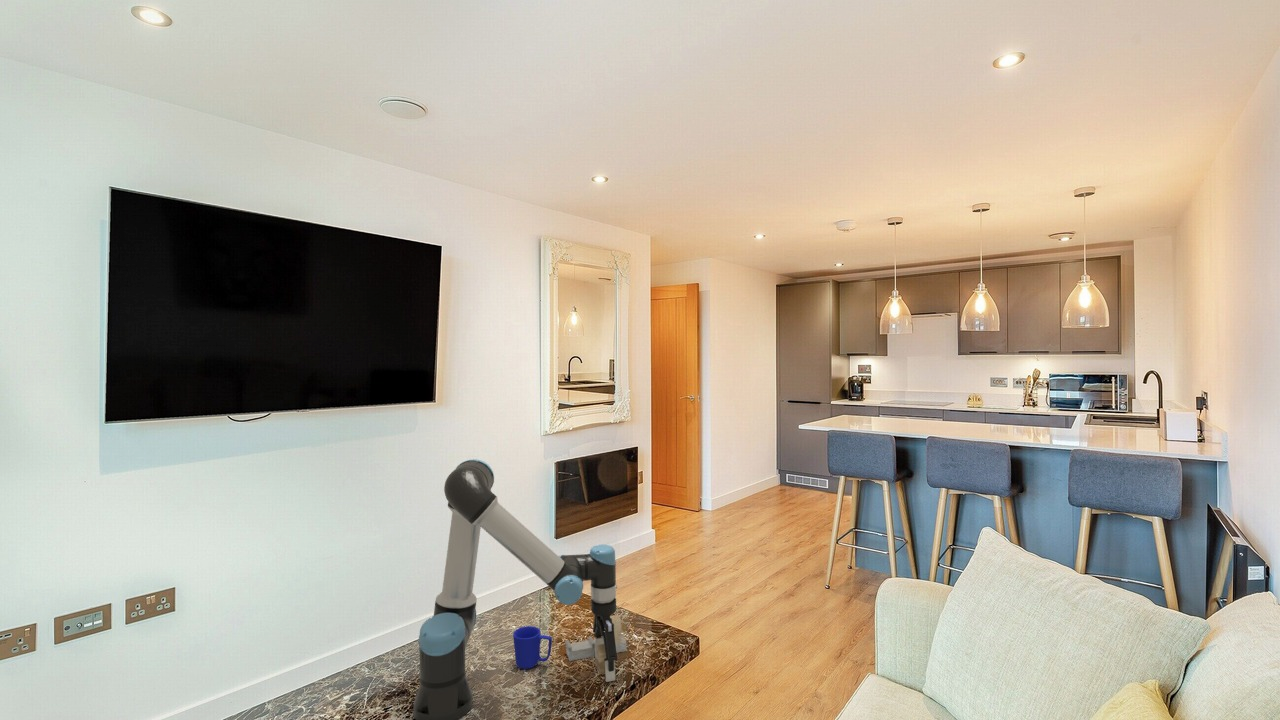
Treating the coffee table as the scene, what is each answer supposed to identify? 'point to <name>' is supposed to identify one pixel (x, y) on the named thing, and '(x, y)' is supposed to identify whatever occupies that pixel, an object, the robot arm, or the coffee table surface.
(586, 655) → the rail
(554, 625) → the coffee table surface
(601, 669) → the tan cardboard carton
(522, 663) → the mug
